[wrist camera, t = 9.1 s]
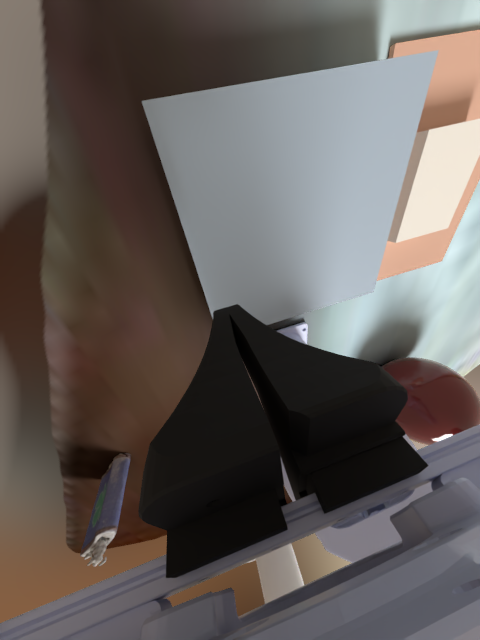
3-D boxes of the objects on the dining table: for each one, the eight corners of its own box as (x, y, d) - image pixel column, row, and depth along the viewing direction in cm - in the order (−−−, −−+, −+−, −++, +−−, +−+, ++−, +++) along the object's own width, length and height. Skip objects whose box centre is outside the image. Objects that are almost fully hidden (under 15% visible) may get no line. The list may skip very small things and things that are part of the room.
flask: (116, 452, 30) (92, 556, 22) (136, 452, 32) (121, 550, 23) (98, 480, 33) (71, 580, 25) (117, 479, 35) (97, 573, 26)
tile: (395, 243, 19) (378, 238, 20) (447, 228, 19) (427, 225, 21) (429, 129, 14) (403, 135, 16) (497, 114, 15) (465, 122, 16)
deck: (345, 277, 23) (373, 292, 19) (213, 316, 21) (219, 339, 18) (377, 82, 14) (438, 50, 10) (151, 124, 12) (141, 100, 9)
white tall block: (240, 454, 42) (278, 616, 26) (269, 450, 45) (318, 595, 29) (227, 477, 48) (251, 623, 32) (253, 472, 50) (287, 604, 34)
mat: (438, 260, 25) (441, 261, 24) (347, 287, 23) (350, 288, 23) (545, 21, 14) (553, 17, 14) (390, 46, 13) (395, 43, 12)
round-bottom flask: (383, 390, 43) (505, 511, 27) (340, 390, 38) (459, 540, 22) (429, 344, 36) (624, 466, 20) (384, 338, 32) (596, 492, 16)
